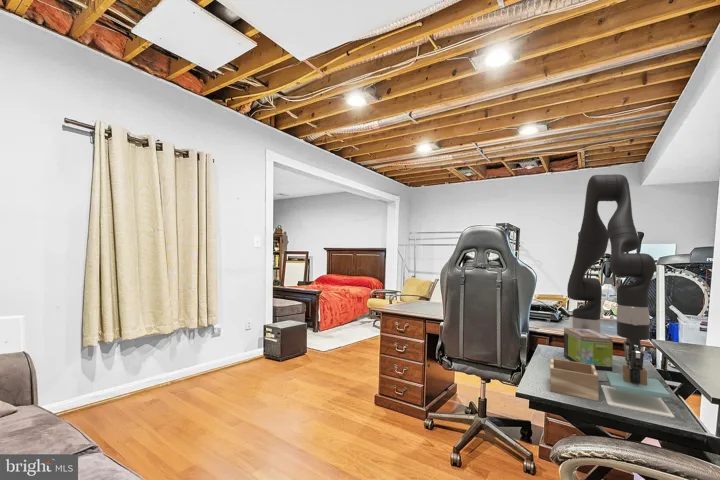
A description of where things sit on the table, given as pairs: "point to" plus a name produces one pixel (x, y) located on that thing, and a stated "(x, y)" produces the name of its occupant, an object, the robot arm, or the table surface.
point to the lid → (644, 388)
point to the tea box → (589, 349)
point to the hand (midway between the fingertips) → (633, 380)
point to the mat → (636, 402)
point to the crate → (574, 379)
